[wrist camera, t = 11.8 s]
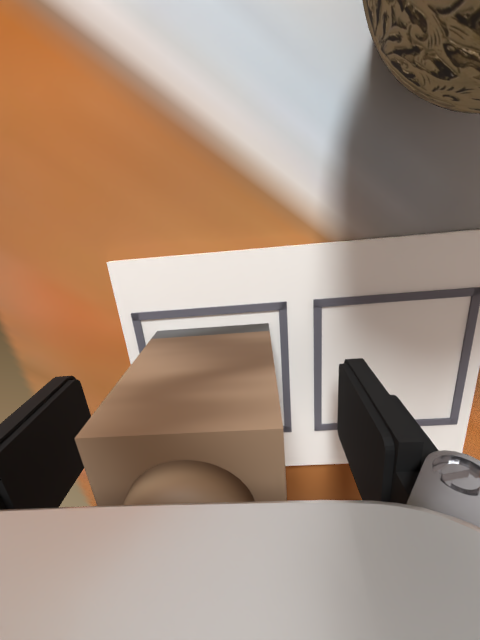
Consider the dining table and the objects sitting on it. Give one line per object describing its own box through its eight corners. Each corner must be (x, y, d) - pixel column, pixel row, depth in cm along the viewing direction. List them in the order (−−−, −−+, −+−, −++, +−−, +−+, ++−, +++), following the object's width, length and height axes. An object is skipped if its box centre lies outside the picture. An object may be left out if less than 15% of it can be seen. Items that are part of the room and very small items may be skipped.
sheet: (501, 227, 11) (509, 228, 10) (456, 454, 14) (461, 460, 14) (110, 261, 11) (105, 263, 11) (158, 465, 15) (156, 472, 15)
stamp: (268, 323, 12) (289, 468, 5) (274, 417, 13) (295, 621, 7) (157, 330, 12) (44, 477, 6) (175, 422, 14) (103, 623, 7)
